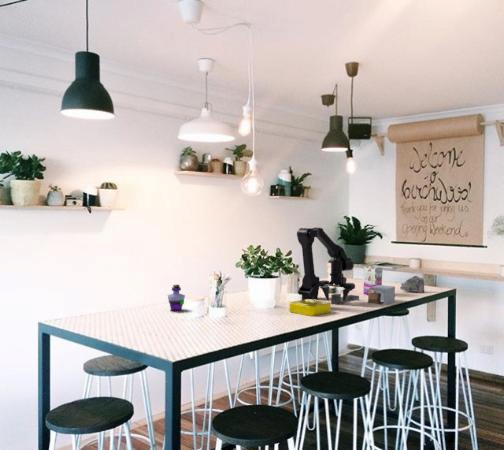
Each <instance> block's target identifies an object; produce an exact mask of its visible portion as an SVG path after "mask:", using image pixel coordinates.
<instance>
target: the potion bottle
mask: <svg viewBox="0 0 504 450" xmlns="http://www.w3.org/2000/svg"><path fill="white" fill-rule="evenodd" d="M172 286H173V287H171V291H173V293H170V294H168V295H167V299H168V303H169V307H170V311H171V312H181V311H182V309H183V305H184V304H185V298H186V297H185V294H183V293H180V291H181V290H182V289H181V288H182V287H180V286H181V285H180V284H173V285H172Z"/></svg>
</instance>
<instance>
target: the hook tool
mask: <svg viewBox="0 0 504 450" xmlns="http://www.w3.org/2000/svg"><path fill="white" fill-rule="evenodd" d="M330 298H331V299H330V304H331V305H334V304H335V306H337V304H338V305H340V303H341V302H342V303H344V302H343V296H342V295H341V293H331V295H330ZM347 300H348V301H357V300H358V301H360V295H356V294H348V295H347V298H346V301H345V302H348V301H347ZM342 303H341V304H342Z"/></svg>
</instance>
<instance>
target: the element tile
mask: <svg viewBox="0 0 504 450" xmlns="http://www.w3.org/2000/svg"><path fill="white" fill-rule="evenodd" d="M331 305H332V304H331V302H326V301H320V300H312V299H306V300H302V299H301V300H300V299H299V300H295V301H290V302H289V305H288V307H289V310H288V311H289V312H290V313H293V314H298V315H304V316H308V315H309V316H310V317H315V315H316V316H321V315H326V314H329V313H331ZM325 313H326V314H325ZM320 314H321V315H320ZM309 316H308V317H309Z"/></svg>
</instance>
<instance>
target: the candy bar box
mask: <svg viewBox="0 0 504 450" xmlns="http://www.w3.org/2000/svg"><path fill="white" fill-rule="evenodd" d="M377 285H383V267H378V266H372V265H371V266H369V265H365V266H363V295H366V294H367V296H368V294H369V293H378V291H377V290H369V288H370V287H374V286H377Z"/></svg>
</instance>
